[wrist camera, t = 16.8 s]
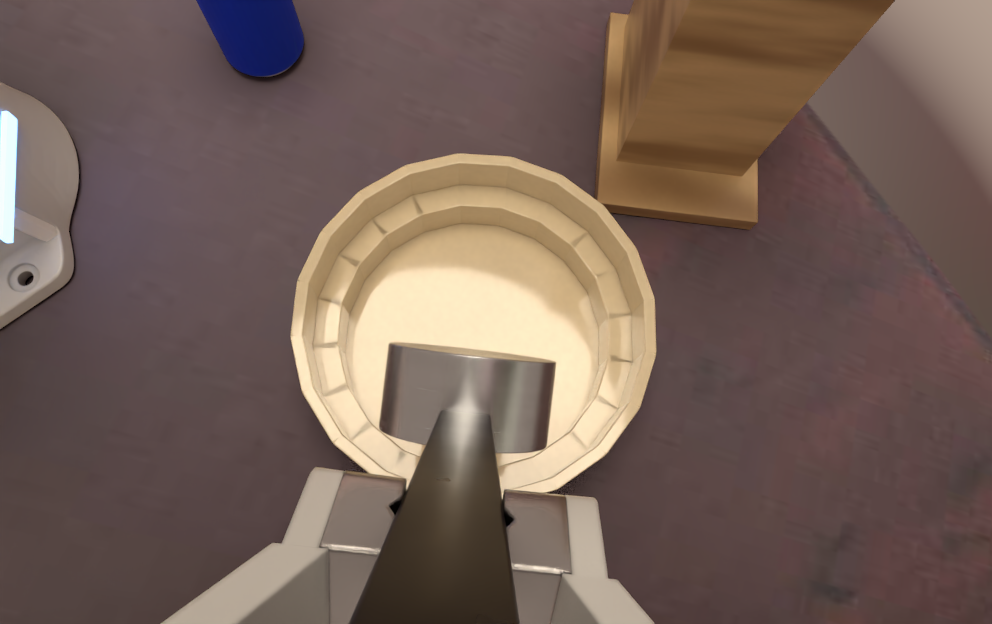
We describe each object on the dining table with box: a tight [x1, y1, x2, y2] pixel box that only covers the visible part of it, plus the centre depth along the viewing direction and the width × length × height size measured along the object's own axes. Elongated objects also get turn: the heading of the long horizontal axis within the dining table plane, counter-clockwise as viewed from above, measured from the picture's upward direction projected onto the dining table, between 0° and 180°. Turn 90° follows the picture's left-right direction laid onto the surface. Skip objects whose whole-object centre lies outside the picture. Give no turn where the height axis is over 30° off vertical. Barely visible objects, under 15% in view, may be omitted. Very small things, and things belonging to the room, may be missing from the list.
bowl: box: [290, 153, 656, 499], centre depth 37 cm, size 18×18×6 cm
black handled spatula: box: [349, 342, 556, 624], centre depth 16 cm, size 22×6×3 cm
